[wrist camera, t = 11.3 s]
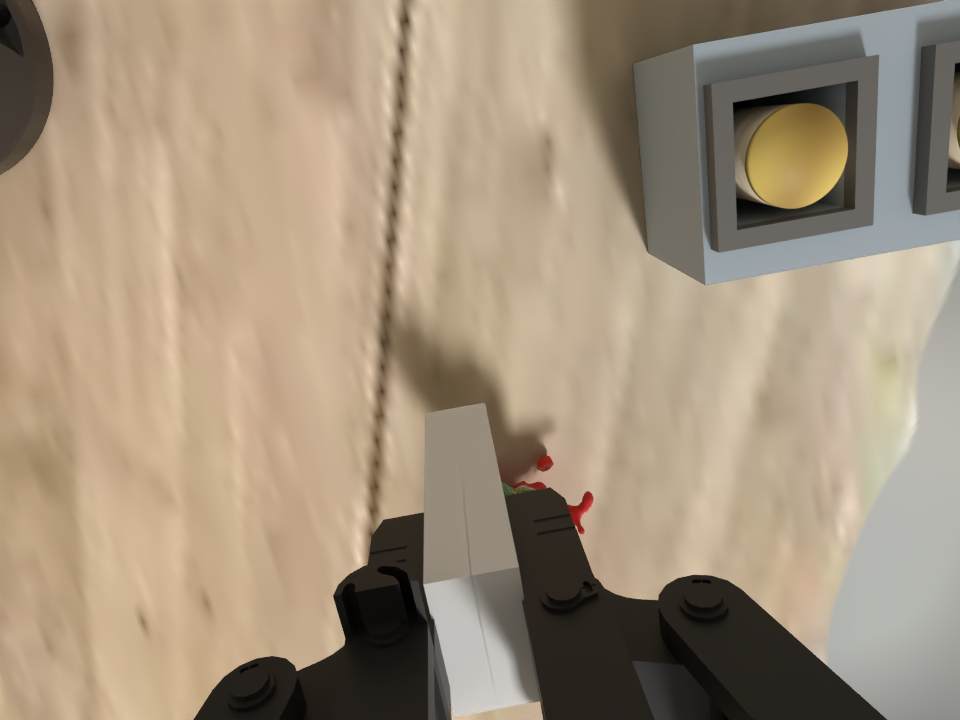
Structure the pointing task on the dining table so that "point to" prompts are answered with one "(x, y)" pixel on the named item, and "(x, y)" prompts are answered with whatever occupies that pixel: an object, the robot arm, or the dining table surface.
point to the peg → (787, 153)
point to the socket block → (793, 80)
